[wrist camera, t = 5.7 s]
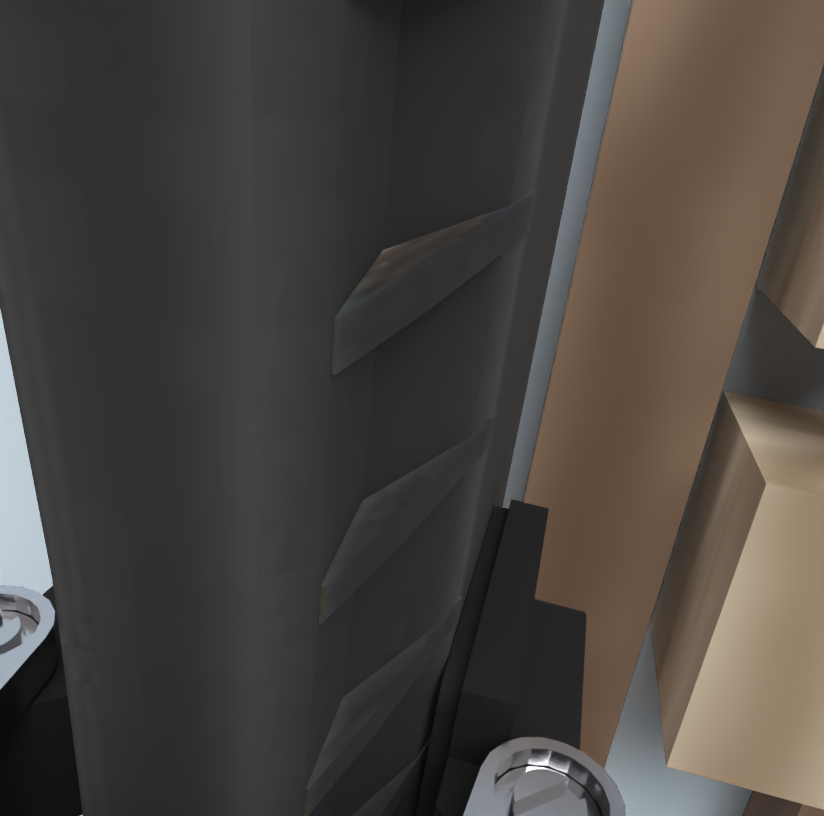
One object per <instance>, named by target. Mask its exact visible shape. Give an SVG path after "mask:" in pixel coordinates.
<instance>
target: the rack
mask: <svg viewBox="0 0 824 816" xmlns="http://www.w3.org/2000/svg"><path fill="white" fill-rule="evenodd" d="M823 65H824V0H632V2H631V7H630V12H629V16H628V21H627V25H626V30H625V35H624V39H623V44H622V48H621V53H620V58H619V62H618V67H617V71H616V76H615V80H614V85H613V90H612V94H611V99H610V103H609V108H608V113H607V117H606V122H605V126H604V131H603V135H602V140H601V145H600V149H599V154H598V158H597V163H596V168H595V172H594V177H593V181H592V186H591V191H590V195H589V200H588V204H587V209H586V213H585V218H584V223H583V227H582V232H581V236H580V241H579V246H578V250H577V255H576V259H575V264H574V269H573V273H572V278H571V282H570V287H569V291H568V296H567V301H566V305H565V310H564V314H563V319H562V324H561V328H560V333H559V337H558V342H557V346H556V351H555V356H554V360H553V365H552V369H551V374H550V379H549V383H548V388H547V392H546V397H545V402H544V406H543V411H542V415H541V420H540V424H539V429H538V434H537V438H536V443H535V447H534V452H533V457H532V461H531V466H530V470H529V475H528V479H527V484H526V489H525V493H524V498H523V502H524V503H528V504H533V505H537V506H541V507H545V508H549V512H548V518H547V524H546V530H545V537H544V543H543V549H542V555H541V562H540V568H539V574H538V580H537V587H536V593H535V599H537V600H541V601H545V602H549V603H553V604H557V605H561V606H564V607H568V608H572V609H576V610H580V611H584V612H586V640H585V659H584V679H583V699H582V719H581V738H580V751H582V752H584V753H585V754H587V755H588V756H589V757H590V758H592V759H593V760H594V761H595V762H596V763H598V764H599V765H600V766H601V767H603V768H604V766H605V763H606V760H607V757H608V754H609V750H610V747H611V744H612V741H613V738H614V734H615V731H616V728H617V725H618V722H619V718H620V715H621V712H622V709H623V706H624V702H625V699H626V696H627V693H628V690H629V686H630V683H631V680H632V677H633V674H634V670H635V667H636V664H637V661H638V658H639V654H640V651H641V648H642V645H643V642H644V638H645V635H646V632H647V629H648V625H649V622H650V619H651V616H652V613H653V609H654V606H655V603H656V600H657V597H658V593H659V590H660V587H661V584H662V581H663V577H664V574H665V571H666V568H667V565H668V561H669V558H670V555H671V552H672V549H673V545H674V542H675V539H676V536H677V533H678V529H679V526H680V523H681V520H682V517H683V513H684V510H685V507H686V504H687V501H688V497H689V494H690V491H691V488H692V485H693V481H694V478H695V475H696V472H697V469H698V465H699V462H700V459H701V456H702V453H703V449H704V446H705V443H706V440H707V437H708V433H709V430H710V427H711V424H712V421H713V417H714V414H715V411H716V408H717V405H718V401H719V398H720V395H721V392H722V389H723V385H724V382H725V379H726V376H727V373H728V369H729V366H730V363H731V360H732V357H733V353H734V350H735V347H736V344H737V341H738V337H739V334H740V331H741V328H742V325H743V321H744V318H745V315H746V312H747V309H748V305H749V302H750V299H751V296H752V292H753V289H754V286H755V283H756V280H757V276H758V273H759V270H760V267H761V264H762V260H763V257H764V254H765V251H766V248H767V244H768V241H769V238H770V235H771V232H772V228H773V225H774V222H775V219H776V216H777V212H778V209H779V206H780V203H781V200H782V196H783V193H784V190H785V187H786V184H787V180H788V177H789V174H790V171H791V168H792V164H793V161H794V158H795V155H796V152H797V148H798V145H799V142H800V139H801V136H802V132H803V129H804V126H805V123H806V120H807V116H808V113H809V110H810V107H811V104H812V100H813V97H814V94H815V91H816V88H817V84H818V81H819V78H820V75H821V72H822V68H823ZM743 816H824V810H823V809H819V808H816V807H812V806H808V805H805V804H801V803H797V802H794V801H790V800H786V799H783V798H779V797H775V796H772V795H768V794H764V793H761V792H757V791H753V792H752V795H751V797H750V799H749V802H748V804H747V807H746V809H745V811H744V814H743Z"/></svg>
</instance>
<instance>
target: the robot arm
mask: <svg viewBox="0 0 824 816" xmlns="http://www.w3.org/2000/svg"><path fill="white" fill-rule="evenodd" d="M548 512H549V508H545V507H541V506H537V505H533V504H528V503H524V502H520V501H516V500H511V503H510V507H509V509H506V508H502V507H498V506H494V509H493V513H492V516H491V519H490V523H489V526H488V529H487V532H486V536H485V539H484V542H483V546H482V549H481V552H480V556H479V559H478V562H477V566H476V569H475V572H474V576H473V579H472V582H471V586H470V589H469V592H468V596H467V599H466V602H465V606H464V609H463V612H462V616H461V619H460V622H459V626H458V629H457V632H456V636H455V639H454V642H453V646H452V649H451V652H450V656H449V659H448V662H447V666H446V669H445V673H444V677H443V681H442V685H441V689H440V693H439V698H438V702H437V707H436V712H435V717H434V722H433V728H432V733H431V738H430V743H429V749H428V754H427V759H426V764H425V770H424V775H423V780H422V785H421V791H420V796H419V801H418V806H417V812H416V816H626V812H625V804H624V802H623V799H622V797H621V794H620V792H619V790H618V787H617V785H616V784H615V783H614V781H613V780H612V779H611V777H610V776H609V775H608V774H607V772H606V771H605V770H604V768H603V767H601V766H600V765H599V764H598V763H596V762H595V761H594V760H593V759H592V758H590V757H589V756H588V755H587V754H585V753H584V752H582V751H580V738H581V719H582V699H583V679H584V659H585V640H586V612H584V611H580V610H576V609H572V608H568V607H564V606H561V605H557V604H553V603H549V602H545V601H541V600H537V599H535V593H536V587H537V580H538V574H539V568H540V562H541V555H542V549H543V543H544V537H545V530H546V524H547V518H548ZM82 814H83V813H82V805H81V797H80V788H79V780H78V772H77V764H76V757H75V749H74V741H73V734H72V726H71V718H70V710H69V703H68V695H67V687H66V680H65V672H64V664H63V656H62V649H61V641H60V633H59V626H58V618H57V610H56V602H55V595H54V587H53V586H52V587H51V588H50V589H49V590H47V591H46V592H45V593H44V594H43V595H41V594H40V593H39V592H36V591H33V590H30V589H27V588H24V587H16V586H4V585H1V586H0V816H80V815H82Z"/></svg>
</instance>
